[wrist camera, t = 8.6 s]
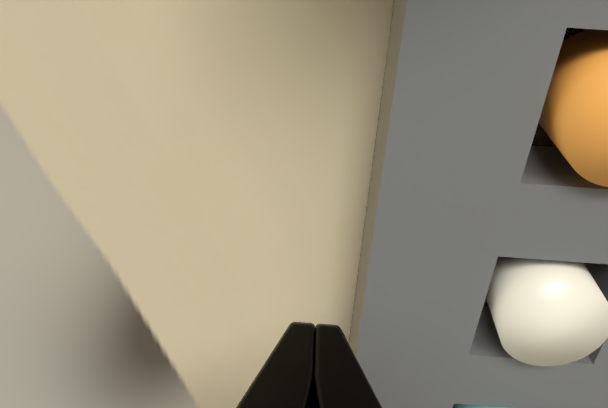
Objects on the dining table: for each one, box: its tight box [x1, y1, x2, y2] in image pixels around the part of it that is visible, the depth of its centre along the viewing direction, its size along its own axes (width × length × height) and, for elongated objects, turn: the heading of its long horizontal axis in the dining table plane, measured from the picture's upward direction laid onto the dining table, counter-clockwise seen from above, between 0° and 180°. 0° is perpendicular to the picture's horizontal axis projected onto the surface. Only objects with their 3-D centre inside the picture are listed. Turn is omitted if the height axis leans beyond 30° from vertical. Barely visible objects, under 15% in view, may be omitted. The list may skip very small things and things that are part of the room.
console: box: [349, 0, 608, 408], centre depth 22 cm, size 14×24×3 cm, turn 177°
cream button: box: [486, 257, 608, 366], centre depth 22 cm, size 4×4×3 cm
